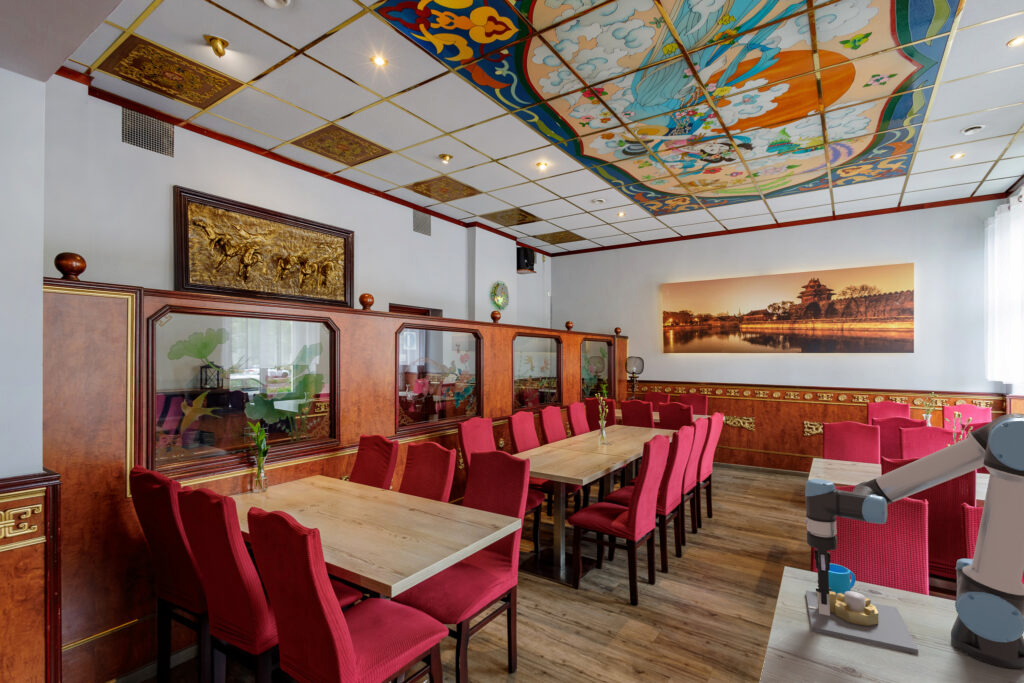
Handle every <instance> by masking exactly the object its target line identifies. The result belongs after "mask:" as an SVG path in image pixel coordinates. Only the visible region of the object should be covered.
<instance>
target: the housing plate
mask: <svg viewBox="0 0 1024 683" xmlns="http://www.w3.org/2000/svg"><path fill="white" fill-rule="evenodd" d="M805 597H806V604H807V609H808V614H809V615H808V617H809V621H810V628H811V632H816V633H818V634H824V635H828V636H833V637H837V638H843V639H847V640H850V641H855V642H861V643H865V644H870V645H874V646H877V647H884V648H888V649H893V650H897V651H902V652H906V653H912V654H915V655H919V648H918V646H917V644H916V642H915V640H914V639H913V637H912V634H911V633H910V631H909V629H908V627H907V625H906V623H905V621H904V619H903V617H902V615H901V613H900V611H899V609H898V608H897V606H891V605H886V604H881V603H875V602H871V604H872V605H874V606H875V607H876V609H877V611H878V620H879V624H875V625H871V626H864V625H859V624H854V623H849V622H848V621H846V620H844V619H842V618H840V617H838V616H837V615H835V613H833V612H830V616H829V615H824V614H820V613H819V610H818V601H817V591H811V590H805ZM865 597H866V596H865V595H863V594H862V593H860V592H857V591H853V590H850V591H846V592H845V603H847V604H849V609H851V610H855V611H860V612H864V607H865ZM836 598H837V596H836Z"/></svg>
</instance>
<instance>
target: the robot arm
mask: <svg viewBox="0 0 1024 683" xmlns="http://www.w3.org/2000/svg"><path fill="white" fill-rule="evenodd" d="M983 467H984V468H986V470H987V471H988V473H989V478H988V483H987V488H986V493H985V498H984V504H983V508H982V514H981V519H980V524H979V528H978V533H977V538H976V542H975V547H974V554H973V557H972V558H960V559H959V558H958V559H957V561H956V566H955V570H956V600H955V604H954V607H955V610H956V613H957V616H956V618H955V621H954V623H953V624H952V625H953V626H952V628H951V631H950V640H951V643H952V644H953V646H955V647H956V649H958V650H959V651H961V652H962V653H964V654H966V655H967V656H970V657H972V658H973V659H976V660H979V661H981V662H983V663H986V664H991V665H992V666H993V665H994V666H997V667H1001V668H1007V669H1014V670H1022V669H1024V636H1023V634H1024V583H1023V582H1022V578H1023V574H1024V413H1017V412H1015V413H1007V414H1004V415H1000V416H999V417H997V418H995V419H993V420H991V421H990V422H988V423H987V424H985V425H983V426H981V427H979V428H977V429H975V430H972V431H969V433H968V436H967V438H965V439H962V440H960V441H958V442H956V443H954V444H951V445H949V446H945V447H944V448H942V449H939V450H937V451H935V452H932V453H931V454H928V455H926V456H922V457H921V458H919V459H917V460H914V461H913V462H910V463H907V464H905V465H902V466H900V467H897V468H895V469H893V470H891V471H888V472H886V473H884V474H882V475H880V476H877V477H875V478H873V479H870V480H868V481H863V482H860V483H858V484H856V486H855V487H854V488H853V489H852V491H847V490H841V489H837V488H836V486H835V483H834V482H832V481H831V480H827V479H821V478H811V479H808V480H807V481H805V493H804V497H805V511H806V512H805V514H806V516H805V517H806V519H804V520H803V522H804V523H805V524H806V530H807V531H806V543H807V545H808V546H809V547H811V548H813V549H814V550H813V554H814V560H815V568H816V569H817V587H818V588H815V592H816V593H817V592H818V602H819V613H820V614H824V615H829V616H830V605H829V590H830V591H831V588H830V587H829V576H828V571H829V570H830V563H831V555H830V554H831V552H829V551H835V550H837V547H838V544H837V543H838V540H837V539H838V538H837V533H838V532H837V531H838V529H837V518H836V517H840V518H845V519H850V520H856V521H859V522H860V521H862V522H866V523H869V524H877V525H878V524H879V525H885V524H886V522H887V521H888V520H887V518H888V505H890V504H892V503H894V502H896V501H899V500H900V501H901V500H902V499H904V498H907V497H909V496H912V495H914V494H917V493H920V492H922V491H924V490H927V489H930V488H933V487H935V486H937V485H940V484H942V483H945V482H948V481H950V480H953V479H955V478H958V477H961V476H963V475H965V474H968V473H971V472H973V471H977V470H978V469H981V468H983Z"/></svg>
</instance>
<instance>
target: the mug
mask: <svg viewBox="0 0 1024 683" xmlns="http://www.w3.org/2000/svg"><path fill="white" fill-rule="evenodd" d="M828 576H829V587H830V588H831V591H832V592H835V593H836V596H837V594H838V593H842V594H844V595H845V592H846V591H851V589H852V588H853V587H854V586H855V584H856V580H857V579H856V575H855V573H854V572H853V571H851V570H850V569H849V568H847V567H845V566H843V565H841V564H838V563H832V562H830V570H829V571H828ZM829 591H830V590H829Z"/></svg>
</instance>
